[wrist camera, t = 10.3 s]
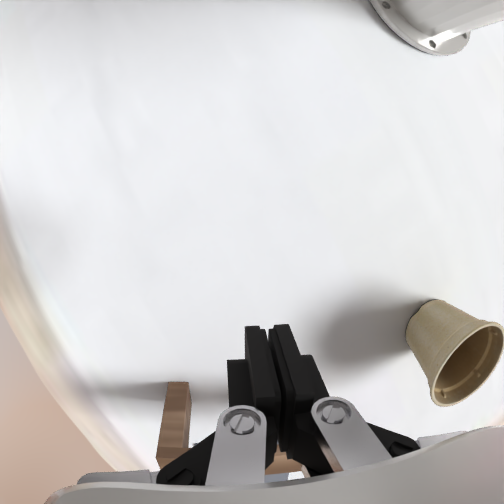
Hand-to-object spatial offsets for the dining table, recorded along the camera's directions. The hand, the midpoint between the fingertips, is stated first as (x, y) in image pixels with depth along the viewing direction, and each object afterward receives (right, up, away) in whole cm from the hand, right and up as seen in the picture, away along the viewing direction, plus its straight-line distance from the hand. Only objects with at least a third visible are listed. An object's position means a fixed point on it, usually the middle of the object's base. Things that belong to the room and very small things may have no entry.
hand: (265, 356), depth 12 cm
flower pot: (+19, -4, +18) cm, 26 cm away
